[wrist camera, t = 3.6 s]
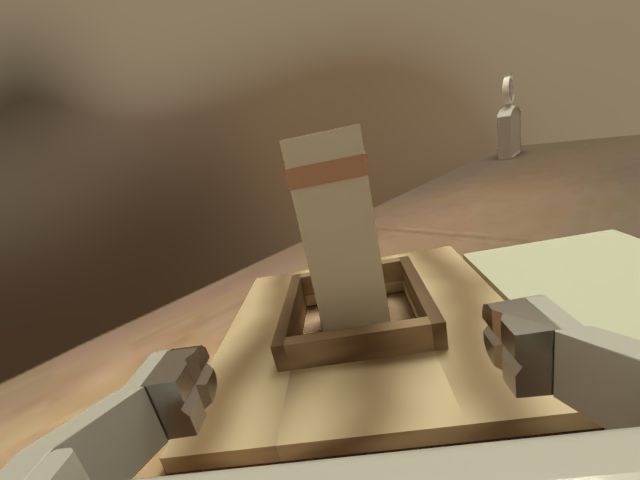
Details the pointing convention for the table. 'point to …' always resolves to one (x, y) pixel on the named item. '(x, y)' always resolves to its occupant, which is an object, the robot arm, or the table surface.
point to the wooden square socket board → (362, 375)
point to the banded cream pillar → (337, 226)
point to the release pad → (572, 276)
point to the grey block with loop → (509, 123)
